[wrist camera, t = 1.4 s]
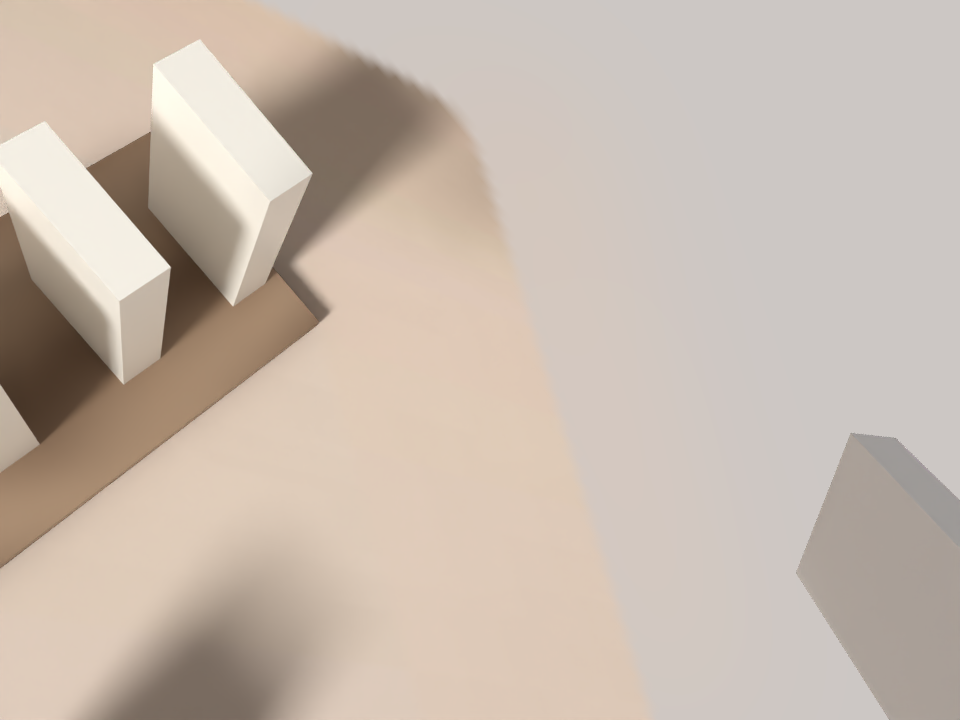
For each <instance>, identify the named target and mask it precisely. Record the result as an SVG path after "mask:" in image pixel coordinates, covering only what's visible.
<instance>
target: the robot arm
mask: <svg viewBox="0 0 960 720" xmlns="http://www.w3.org/2000/svg"><path fill="white" fill-rule="evenodd" d="M796 573H797V575H798V577H799V578H800V580H801V582H802V583H803V585H804V586H805V588H806V589H807V591H808V593H809V594H810V596H811V597H812V599H813V600H814V602H815V604H816V605H817V607H818V608H819V610H820V611H821V613H822V614H823V616H824V618H825V619H826V621H827V622H828V624H829V625H830V627H831V629H832V630H833V632H834V633H835V635H836V637H837V638H838V640H839V641H840V643H841V644H842V646H843V648H844V649H845V651H846V652H847V654H848V656H849V657H850V659H851V660H852V662H853V663H854V665H855V666H856V668H857V670H858V671H859V673H860V674H861V676H862V677H863V679H864V681H865V682H866V684H867V685H868V687H869V688H870V690H871V692H872V693H873V695H874V696H875V698H876V699H877V701H878V703H879V704H880V706H881V707H882V709H883V710H884V712H885V714H886V715H887V717H888V719H889V720H960V500H959V499H958V498H957V497H956V496H955V495H954V494H952V492H951V491H950V490H949V489H948V488H946V486H945V485H943V484H942V483H941V482H940V481H939V480H938V479H937V478H936V477H935V476H934V475H933V474H932V473H931V472H930V471H929V470H928V469H927V468H926V467H925V466H924V465H923V464H922V463H921V462H920V461H919V460H918V459H917V458H916V457H915V456H914V455H913V454H912V453H911V452H909V451H908V450H907V449H906V448H905V447H904V446H903V445H902V444H901V443H900V442H899V441H898V440H897V439H896V438H891V437H882V436H873V435H863V434H854V433H851V434H850V437H849V439H848V442H847V444H846V447H845V449H844V452H843V455H842V457H841V459H840V462H839V465H838V467H837V470H836V472H835V475H834V477H833V480H832V482H831V485H830V488H829V490H828V493H827V495H826V498H825V500H824V503H823V505H822V508H821V510H820V513H819V515H818V518H817V521H816V523H815V526H814V528H813V531H812V533H811V536H810V539H809V541H808V544H807V546H806V549H805V551H804V554H803V556H802V559H801V561H800V564H799V566H798V569H797V572H796Z"/></svg>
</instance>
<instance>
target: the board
mask: <svg viewBox="0 0 960 720" xmlns="http://www.w3.org/2000/svg"><path fill="white" fill-rule="evenodd" d="M150 141H151V132H149V133H148V134H146V135H144V136H142V137H141V138H139V139H137V140H135V141H134V142H132V143H130V144H128V145H127V146H125V147H123V148H121V149H119V150H118V151H116V152H114V153H112V154H111V155H109V156H107V157H105V158H104V159H102V160H100V161H98V162H97V163H95V164H93V165H91V166H90V167H88V168H86V169H87V171H88V172H89V173H90V174H91V175H92V176H93V178H94V179H95V180H96V181H97V182H98V183H99V185H100V186H101V187H102V188H103V189H104V190H105V191H106V193H107V194H108V195H109V196H110V197H111V198H112V200H113V201H114V202H115V203H116V204H117V205H118V207H119V208H120V209H121V210H122V211H123V212H124V213H125V215H126V216H127V217H128V218H129V219H130V220H131V222H132V223H133V224H134V225H135V226H136V227H137V229H138V230H139V231H140V232H141V233H142V234H143V236H144V237H145V238H146V239H147V240H148V241H149V242H150V244H151V245H152V246H153V247H154V248H155V249H156V251H157V252H158V253H159V254H160V255H161V256H162V258H163V259H164V260H165V261H166V262H167V263H168V265H169V266H170V267H171V270H170V279H169V287H168V296H167V305H166V313H165V322H164V331H163V340H162V348H161V357H160V359H159V360H158V361H156V362H155V363H153V364H152V365H151V366H149V367H148V368H146V369H145V370H144V371H142V372H141V373H139V374H138V375H137V376H135V377H134V378H132V379H131V380H130V381H128V382H127V383H125V384H123V383H122V382H121V381H120V380H119V379H118V378H117V377H116V375H115V374H114V373H113V372H112V371H111V370H110V369H109V367H108V366H107V365H106V364H105V363H104V362H103V361H102V359H101V358H100V357H99V356H98V355H97V354H96V353H95V351H94V350H93V349H92V348H91V347H90V346H89V345H88V343H87V342H86V341H85V340H84V339H83V338H82V337H81V335H80V334H79V333H78V332H77V331H76V330H75V329H74V327H73V326H72V325H71V324H70V323H69V322H68V321H67V319H66V318H65V317H64V316H63V315H62V314H61V313H60V311H59V310H58V309H57V308H56V307H55V306H54V305H53V303H52V302H51V301H50V300H49V299H48V298H47V297H46V295H45V294H44V293H43V292H42V291H41V290H40V289H39V287H38V286H37V285H36V284H35V283H34V282H33V281H32V279H31V277H30V274H29V271H28V268H27V265H26V262H25V259H24V256H23V253H22V250H21V247H20V244H19V241H18V238H17V235H16V232H15V229H14V226H13V223H12V220H11V217H10V214H9V213H7V214H5V215H3V216H2V217H0V385H1V386H2V388H3V389H4V391H5V392H6V394H7V395H8V397H9V398H10V400H11V401H12V403H13V405H14V406H15V408H16V409H17V411H18V412H19V414H20V415H21V417H22V418H23V420H24V421H25V423H26V424H27V426H28V427H29V429H30V430H31V432H32V433H33V435H34V436H35V438H36V439H37V441H38V442H39V444H40V445H38V446H37V447H36V448H34V449H33V450H31V451H30V452H29V453H27V454H26V455H24V456H23V457H22V458H20V459H19V460H17V461H16V462H15V463H13V464H12V465H10V466H9V467H8V468H6V469H5V470H3V471H2V472H1V473H0V568H1V567H2V566H4V565H5V564H6V563H8V562H9V561H10V560H12V559H13V558H14V557H16V556H17V555H18V554H19V553H21V552H22V551H23V550H25V549H26V548H27V547H29V546H30V545H31V544H32V543H34V542H35V541H36V540H38V539H39V538H40V537H42V536H43V535H44V534H45V533H47V532H48V531H49V530H51V529H52V528H53V527H55V526H56V525H57V524H59V523H60V522H61V521H62V520H64V519H65V518H66V517H68V516H69V515H70V514H72V513H73V512H74V511H75V510H77V509H78V508H79V507H81V506H82V505H83V504H85V503H86V502H87V501H89V500H90V499H91V498H92V497H94V496H95V495H96V494H98V493H99V492H100V491H102V490H103V489H104V488H105V487H107V486H108V485H109V484H111V483H112V482H113V481H115V480H116V479H117V478H118V477H120V476H121V475H122V474H124V473H125V472H126V471H128V470H129V469H130V468H132V467H133V466H134V465H135V464H137V463H138V462H139V461H141V460H142V459H143V458H145V457H146V456H147V455H148V454H150V453H151V452H152V451H154V450H155V449H156V448H158V447H159V446H160V445H161V444H163V443H164V442H165V441H167V440H168V439H169V438H171V437H172V436H173V435H175V434H176V433H177V432H178V431H180V430H181V429H182V428H184V427H185V426H186V425H188V424H189V423H190V422H191V421H193V420H194V419H195V418H197V417H198V416H199V415H201V414H202V413H203V412H205V411H206V410H207V409H208V408H210V407H211V406H212V405H214V404H215V403H216V402H218V401H219V400H220V399H221V398H223V397H224V396H225V395H227V394H228V393H229V392H231V391H232V390H233V389H234V388H236V387H237V386H238V385H240V384H241V383H242V382H244V381H245V380H246V379H248V378H249V377H250V376H251V375H253V374H254V373H255V372H257V371H258V370H259V369H261V368H262V367H263V366H264V365H266V364H267V363H268V362H270V361H271V360H272V359H274V358H275V357H276V356H278V355H279V354H280V353H281V352H283V351H284V350H285V349H287V348H288V347H289V346H291V345H292V344H293V343H294V342H296V341H297V340H298V339H300V338H301V337H302V336H304V335H305V334H306V333H307V332H309V331H310V330H311V329H313V328H314V327H315V326H316V325H317V324H318V323H319V321H318V320H317V319H316V317H315V316H314V315H313V314H312V313H311V312H310V310H309V309H308V308H307V307H306V306H305V305H304V303H303V302H302V301H301V300H300V299H299V297H298V296H297V295H296V294H295V293H294V292H293V290H292V289H291V288H290V287H289V286H288V285H287V283H286V282H285V281H284V280H283V279H282V278H281V276H280V275H279V274H278V273H277V272H276V271H275V269H274V268H273V267H272V269H271V271H270V274H269V276H268V278H267V281H266V283H265V284H264V285H263V286H261V287H260V288H259V289H257V290H256V291H254V292H253V293H252V294H250V295H249V296H247V297H246V298H245V299H243V300H242V301H240V302H239V303H238V304H236V305H235V306H232V305H231V304H230V303H229V301H228V300H227V299H226V298H225V297H224V296H223V294H222V293H221V292H220V291H219V290H218V289H217V287H216V286H215V285H214V284H213V283H212V282H211V280H210V279H209V278H208V277H207V276H206V275H205V273H204V272H203V271H202V270H201V269H200V268H199V266H198V265H197V264H196V263H195V262H194V261H193V260H192V258H191V257H190V256H189V255H188V254H187V253H186V251H185V250H184V249H183V248H182V247H181V246H180V244H179V243H178V242H177V241H176V240H175V239H174V237H173V236H172V235H171V234H170V233H169V232H168V230H167V229H166V228H165V227H164V226H163V225H162V223H161V222H160V221H159V220H158V219H157V218H156V216H155V215H154V214H153V213H152V212H151V211H150V210H149V208H148V196H149V168H150Z"/></svg>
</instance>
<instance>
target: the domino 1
mask: <svg viewBox="0 0 960 720" xmlns="http://www.w3.org/2000/svg"><path fill="white" fill-rule="evenodd" d="M38 445H40V444H39V442H38V441H37V439H36V438H35V436H34V435H33V433H32V432H31V430H30V429H29V427H28V426H27V424H26V423H25V421H24V420H23V418H22V417H21V415H20V414H19V412H18V411H17V409H16V408H15V406H14V405H13V403H12V401H11V400H10V398H9V397H8V395H7V394H6V392H5V391H4V389H3V388H2V386H1V385H0V473H1V472H2V471H3V470H5V469H6V468H8V467H9V466H10V465H12V464H13V463H15V462H16V461H17V460H19V459H20V458H22V457H23V456H24V455H26V454H27V453H29V452H30V451H31V450H33V449H34V448H36V447H37V446H38Z"/></svg>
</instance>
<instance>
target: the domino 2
mask: <svg viewBox="0 0 960 720" xmlns="http://www.w3.org/2000/svg"><path fill="white" fill-rule="evenodd" d="M0 187H1V190H2V193H3V196H4V199H5V202H6V205H7V208H8V211H9V214H10V217H11V220H12V223H13V226H14V229H15V232H16V235H17V238H18V241H19V244H20V247H21V250H22V253H23V256H24V259H25V262H26V265H27V268H28V271H29V274H30V277H31V279H32V281H33V282H34V283H35V284H36V285H37V286H38V287H39V289H40V290H41V291H42V292H43V293H44V294H45V295H46V297H47V298H48V299H49V300H50V301H51V302H52V303H53V305H54V306H55V307H56V308H57V309H58V310H59V311H60V313H61V314H62V315H63V316H64V317H65V318H66V319H67V321H68V322H69V323H70V324H71V325H72V326H73V327H74V329H75V330H76V331H77V332H78V333H79V334H80V335H81V337H82V338H83V339H84V340H85V341H86V342H87V343H88V345H89V346H90V347H91V348H92V349H93V350H94V351H95V353H96V354H97V355H98V356H99V357H100V358H101V359H102V361H103V362H104V363H105V364H106V365H107V366H108V367H109V369H110V370H111V371H112V372H113V373H114V374H115V375H116V377H117V378H118V379H119V380H120V381H121V382H122V383H123V384H125V383H127V382H128V381H130V380H131V379H132V378H134V377H135V376H137V375H138V374H139V373H141V372H142V371H144V370H145V369H146V368H148V367H149V366H151V365H152V364H153V363H155V362H156V361H158V360H159V359H160V357H161V348H162V340H163V331H164V322H165V313H166V305H167V296H168V287H169V279H170V270H171V267H170V266H169V265H168V263H167V262H166V261H165V260H164V259H163V258H162V256H161V255H160V254H159V253H158V252H157V251H156V249H155V248H154V247H153V246H152V245H151V244H150V242H149V241H148V240H147V239H146V238H145V237H144V236H143V234H142V233H141V232H140V231H139V230H138V229H137V227H136V226H135V225H134V224H133V223H132V222H131V220H130V219H129V218H128V217H127V216H126V215H125V213H124V212H123V211H122V210H121V209H120V208H119V207H118V205H117V204H116V203H115V202H114V201H113V200H112V198H111V197H110V196H109V195H108V194H107V193H106V191H105V190H104V189H103V188H102V187H101V186H100V185H99V183H98V182H97V181H96V180H95V179H94V178H93V176H92V175H91V174H90V173H89V172H88V171H87V169H86V168H85V167H84V166H83V165H82V164H81V162H80V161H79V160H78V159H77V158H76V157H75V156H74V154H73V153H72V152H71V151H70V150H69V149H68V147H67V146H66V145H65V144H64V143H63V142H62V140H61V139H60V138H59V137H58V136H57V135H56V133H55V132H54V131H53V130H52V129H51V128H50V127H49V125H48V124H47V123H46V122H45V121H44V122H42V123H40V124H38V125H36V126H35V127H33V128H31V129H29V130H27V131H25V132H23V133H21V134H19V135H17V136H16V137H14V138H12V139H10V140H8V141H6V142H4V143H2V144H0Z"/></svg>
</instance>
